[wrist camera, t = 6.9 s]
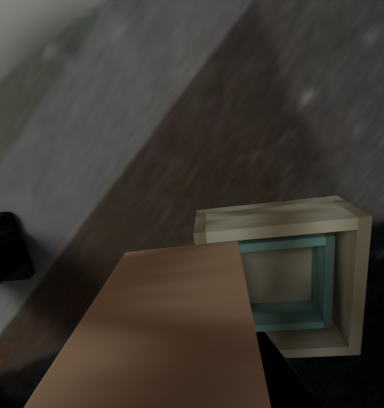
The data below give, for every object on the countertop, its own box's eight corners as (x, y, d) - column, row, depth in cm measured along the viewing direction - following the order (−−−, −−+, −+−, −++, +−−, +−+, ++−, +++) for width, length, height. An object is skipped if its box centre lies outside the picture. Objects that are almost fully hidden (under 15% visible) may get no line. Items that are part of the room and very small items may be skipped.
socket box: (211, 318, 24) (211, 361, 20) (196, 210, 21) (193, 233, 17) (332, 311, 23) (360, 354, 19) (337, 195, 20) (372, 216, 16)
